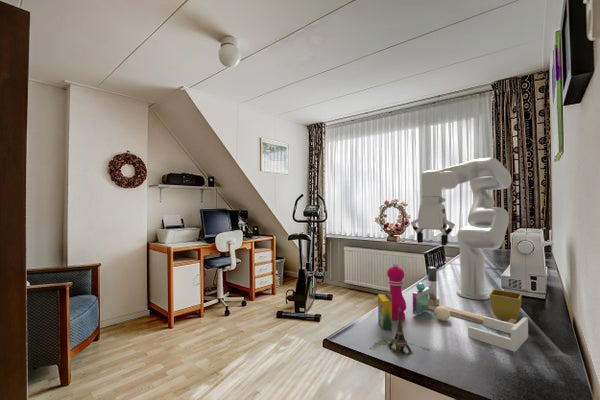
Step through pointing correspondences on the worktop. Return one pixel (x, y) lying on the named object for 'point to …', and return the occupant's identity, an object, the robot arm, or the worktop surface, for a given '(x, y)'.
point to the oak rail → (465, 314)
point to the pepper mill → (396, 291)
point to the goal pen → (516, 330)
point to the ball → (442, 313)
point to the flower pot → (505, 304)
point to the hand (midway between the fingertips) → (431, 243)
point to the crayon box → (385, 311)
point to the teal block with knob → (426, 293)
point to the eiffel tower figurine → (397, 341)
